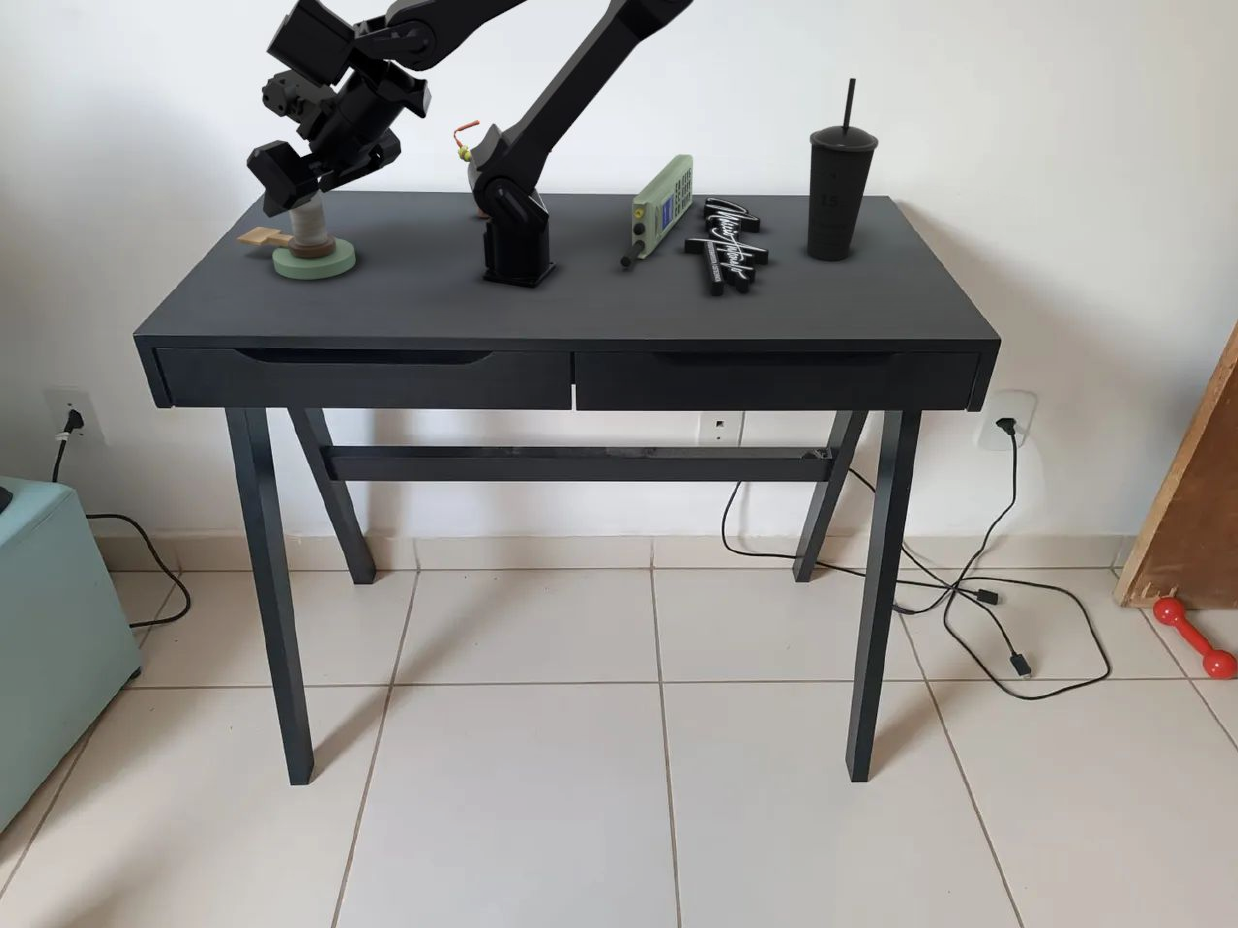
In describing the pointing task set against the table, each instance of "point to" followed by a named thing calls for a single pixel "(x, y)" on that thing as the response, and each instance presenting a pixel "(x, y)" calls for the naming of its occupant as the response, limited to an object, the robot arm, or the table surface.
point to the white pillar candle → (298, 232)
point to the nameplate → (728, 246)
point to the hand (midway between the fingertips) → (294, 201)
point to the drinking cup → (837, 184)
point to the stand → (314, 262)
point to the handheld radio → (660, 207)
